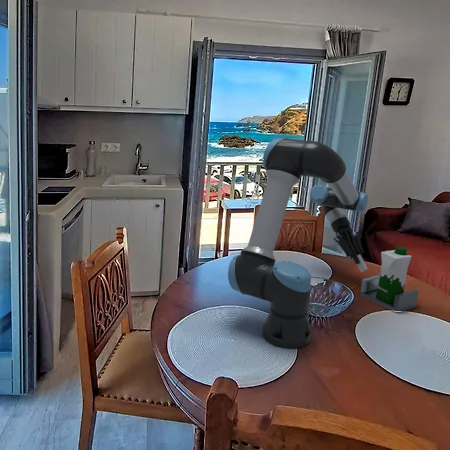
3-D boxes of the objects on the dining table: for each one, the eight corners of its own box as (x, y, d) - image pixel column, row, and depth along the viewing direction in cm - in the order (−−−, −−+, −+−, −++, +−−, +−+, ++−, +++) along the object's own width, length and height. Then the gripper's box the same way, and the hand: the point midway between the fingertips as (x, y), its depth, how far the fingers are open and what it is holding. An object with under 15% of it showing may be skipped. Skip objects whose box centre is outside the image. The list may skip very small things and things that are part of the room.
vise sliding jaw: (383, 287, 176) (385, 276, 174) (364, 292, 170) (366, 281, 169) (379, 286, 177) (381, 274, 176) (360, 291, 172) (362, 279, 170)
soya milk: (406, 301, 165) (415, 251, 159) (388, 305, 161) (396, 253, 156) (389, 292, 172) (396, 244, 167) (371, 295, 169) (378, 246, 163)
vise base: (415, 307, 164) (418, 291, 162) (396, 313, 158) (399, 296, 156) (378, 290, 178) (381, 275, 176) (360, 295, 172) (362, 279, 170)
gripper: (343, 223, 192) (369, 271, 183) (322, 226, 185) (347, 277, 176) (354, 214, 186) (381, 263, 177) (332, 217, 179) (359, 269, 170)
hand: (364, 270), depth 177 cm, fingers closed
